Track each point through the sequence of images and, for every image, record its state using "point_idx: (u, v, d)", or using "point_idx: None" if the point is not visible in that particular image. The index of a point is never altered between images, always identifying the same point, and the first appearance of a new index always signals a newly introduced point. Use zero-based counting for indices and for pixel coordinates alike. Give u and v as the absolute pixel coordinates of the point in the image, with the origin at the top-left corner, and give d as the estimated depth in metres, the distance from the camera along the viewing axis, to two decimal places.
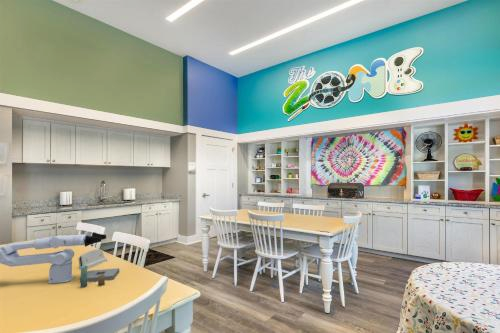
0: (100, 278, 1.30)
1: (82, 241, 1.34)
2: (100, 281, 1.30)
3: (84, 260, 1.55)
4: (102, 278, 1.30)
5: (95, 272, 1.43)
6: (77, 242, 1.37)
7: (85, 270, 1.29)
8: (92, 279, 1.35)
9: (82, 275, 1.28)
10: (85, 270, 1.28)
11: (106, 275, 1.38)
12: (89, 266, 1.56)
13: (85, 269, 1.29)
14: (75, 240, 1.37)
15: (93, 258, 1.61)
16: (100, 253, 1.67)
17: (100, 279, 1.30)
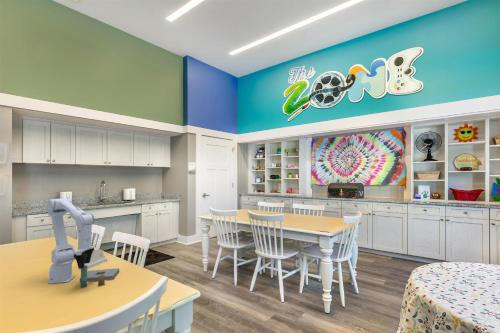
0: (100, 278, 1.30)
1: (79, 253, 1.23)
2: (100, 281, 1.30)
3: None
4: (102, 278, 1.30)
5: (95, 272, 1.43)
6: (80, 243, 1.27)
7: (85, 270, 1.29)
8: (92, 279, 1.35)
9: (82, 275, 1.28)
10: (85, 270, 1.28)
11: (106, 275, 1.38)
12: (89, 266, 1.56)
13: (85, 269, 1.29)
14: (83, 241, 1.27)
15: (93, 258, 1.62)
16: (100, 253, 1.67)
17: (100, 279, 1.30)
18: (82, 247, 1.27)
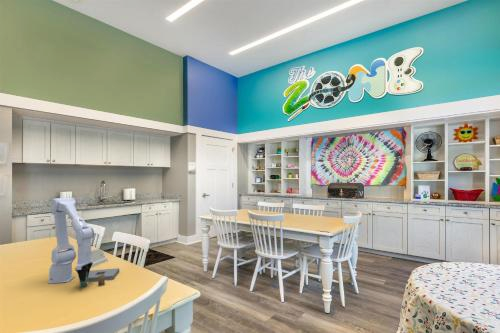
0: (100, 278, 1.30)
1: (79, 268, 1.23)
2: (100, 281, 1.30)
3: None
4: (102, 278, 1.30)
5: (95, 272, 1.43)
6: (80, 257, 1.27)
7: None
8: (92, 279, 1.35)
9: None
10: None
11: (106, 275, 1.38)
12: None
13: None
14: (82, 255, 1.27)
15: (94, 258, 1.62)
16: (100, 253, 1.68)
17: (100, 279, 1.30)
18: (82, 261, 1.27)
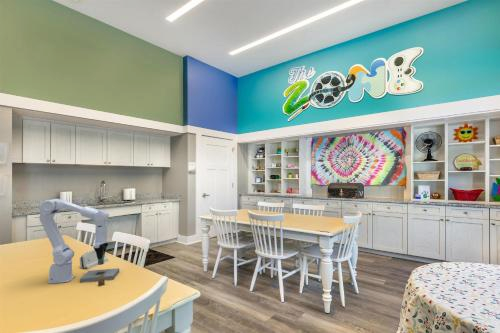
0: (100, 278, 1.30)
1: (97, 246, 1.36)
2: (100, 281, 1.30)
3: (85, 260, 1.56)
4: (102, 278, 1.30)
5: (95, 272, 1.43)
6: (98, 237, 1.40)
7: None
8: (92, 279, 1.35)
9: None
10: None
11: (106, 275, 1.38)
12: (90, 266, 1.56)
13: None
14: (100, 235, 1.40)
15: (94, 258, 1.62)
16: None
17: (100, 279, 1.30)
18: (99, 241, 1.40)
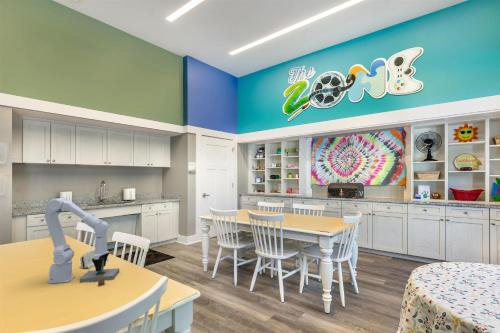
0: (100, 278, 1.30)
1: (97, 258, 1.35)
2: (100, 281, 1.30)
3: (86, 260, 1.56)
4: (102, 278, 1.30)
5: (95, 272, 1.43)
6: (97, 248, 1.40)
7: (102, 262, 1.41)
8: (92, 279, 1.35)
9: None
10: (102, 262, 1.41)
11: (106, 275, 1.38)
12: (91, 266, 1.56)
13: None
14: (100, 246, 1.40)
15: None
16: None
17: (100, 279, 1.30)
18: (99, 252, 1.39)
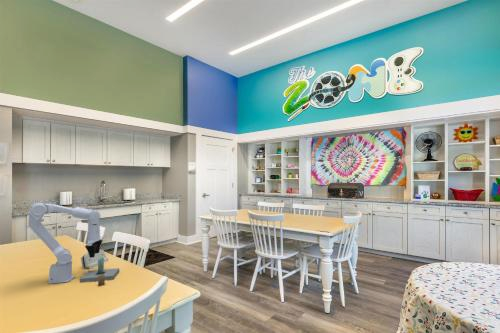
0: (100, 278, 1.30)
1: (90, 244, 1.40)
2: (100, 281, 1.30)
3: (87, 260, 1.56)
4: (102, 278, 1.30)
5: (95, 272, 1.43)
6: (90, 235, 1.44)
7: (102, 262, 1.41)
8: (92, 279, 1.35)
9: (99, 266, 1.41)
10: (101, 262, 1.41)
11: (106, 275, 1.38)
12: (92, 266, 1.56)
13: (102, 261, 1.41)
14: (92, 233, 1.45)
15: (95, 258, 1.62)
16: (102, 253, 1.68)
17: (100, 279, 1.30)
18: (92, 239, 1.45)
